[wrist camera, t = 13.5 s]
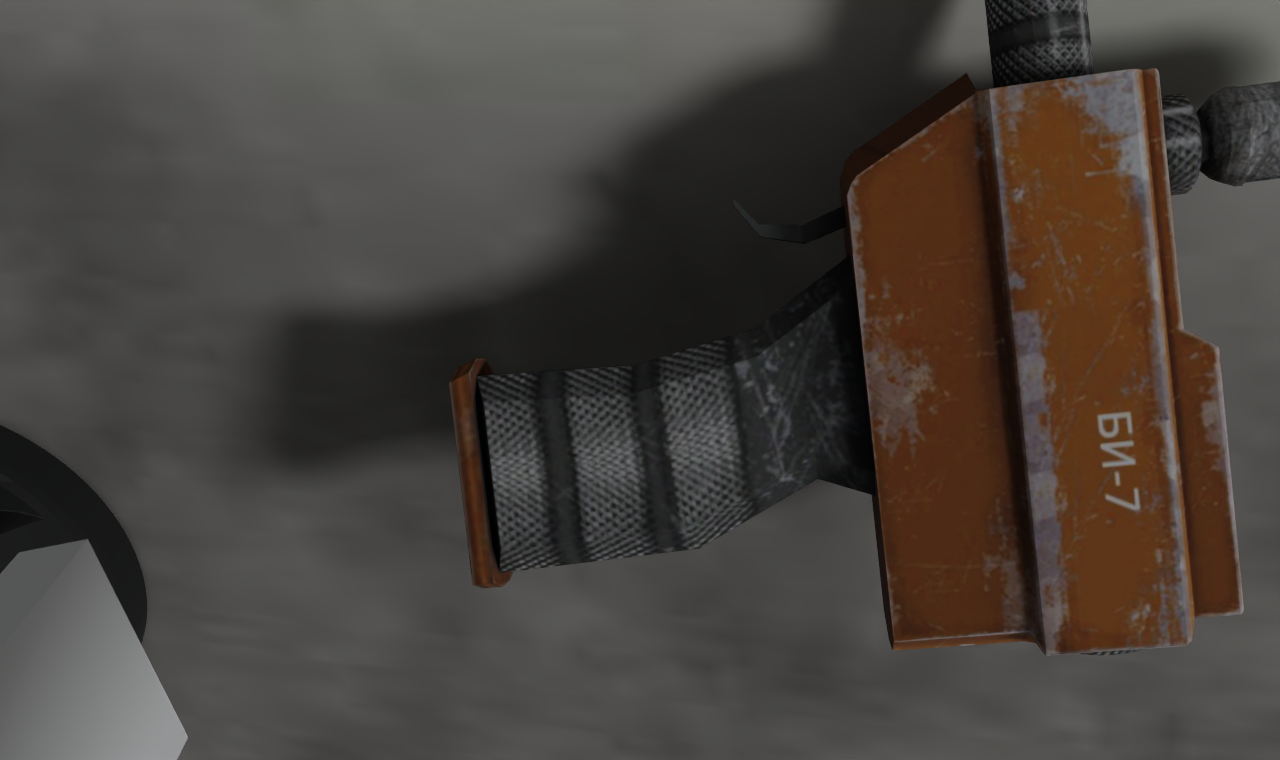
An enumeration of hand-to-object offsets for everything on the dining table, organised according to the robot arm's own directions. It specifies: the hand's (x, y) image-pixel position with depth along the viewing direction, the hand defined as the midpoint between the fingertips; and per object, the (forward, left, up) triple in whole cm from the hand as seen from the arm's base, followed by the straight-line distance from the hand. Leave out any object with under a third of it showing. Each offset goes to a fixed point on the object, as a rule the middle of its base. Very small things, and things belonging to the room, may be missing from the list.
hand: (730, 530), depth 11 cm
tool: (+7, -4, -23) cm, 24 cm away
